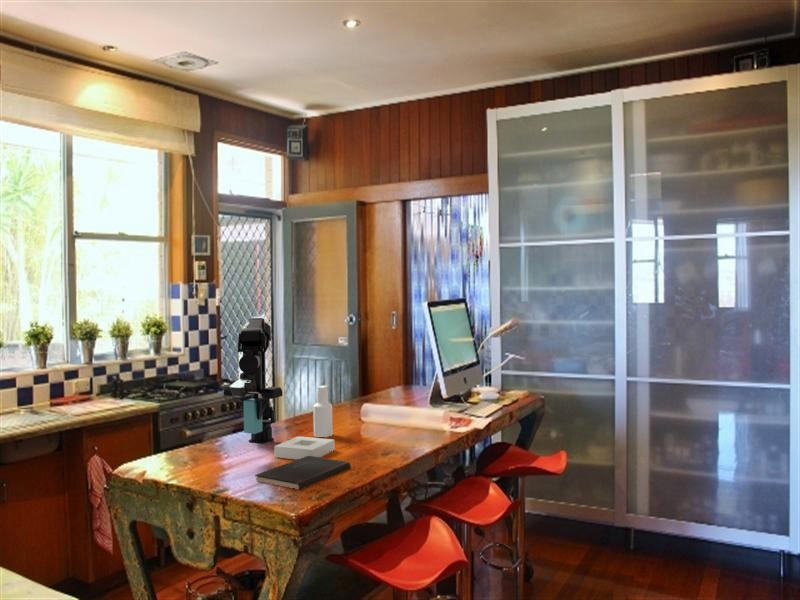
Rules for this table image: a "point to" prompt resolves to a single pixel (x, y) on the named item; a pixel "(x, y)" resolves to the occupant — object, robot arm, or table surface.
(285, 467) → the hardcover book
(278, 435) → the table surface
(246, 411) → the peg
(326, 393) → the white bottle
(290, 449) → the socket block
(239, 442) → the table surface
